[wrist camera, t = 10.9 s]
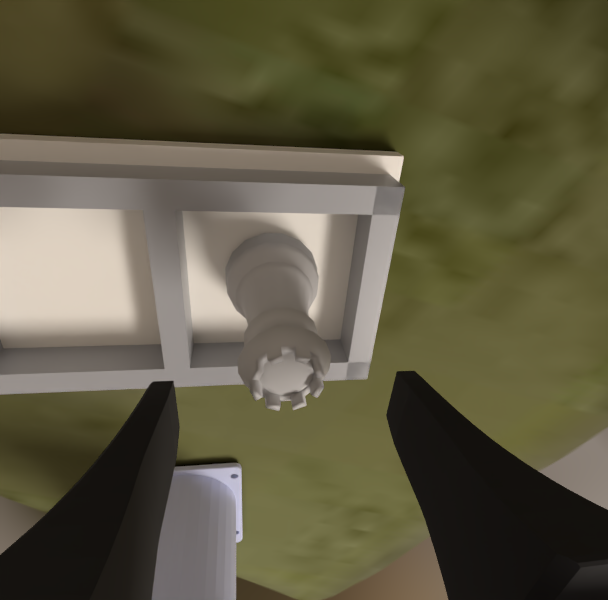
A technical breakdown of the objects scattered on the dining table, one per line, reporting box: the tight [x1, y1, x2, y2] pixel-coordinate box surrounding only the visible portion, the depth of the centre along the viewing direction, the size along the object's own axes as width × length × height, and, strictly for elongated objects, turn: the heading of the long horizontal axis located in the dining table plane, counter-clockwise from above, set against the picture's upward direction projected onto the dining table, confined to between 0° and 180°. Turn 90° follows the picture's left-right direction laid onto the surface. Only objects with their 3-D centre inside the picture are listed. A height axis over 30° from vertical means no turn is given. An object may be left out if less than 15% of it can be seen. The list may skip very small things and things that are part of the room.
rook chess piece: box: [225, 233, 331, 411], centre depth 17 cm, size 4×4×8 cm
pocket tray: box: [0, 134, 405, 394], centre depth 19 cm, size 12×21×3 cm, turn 86°
